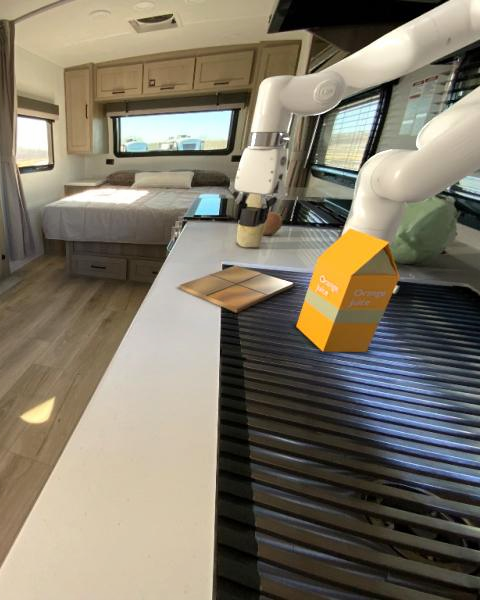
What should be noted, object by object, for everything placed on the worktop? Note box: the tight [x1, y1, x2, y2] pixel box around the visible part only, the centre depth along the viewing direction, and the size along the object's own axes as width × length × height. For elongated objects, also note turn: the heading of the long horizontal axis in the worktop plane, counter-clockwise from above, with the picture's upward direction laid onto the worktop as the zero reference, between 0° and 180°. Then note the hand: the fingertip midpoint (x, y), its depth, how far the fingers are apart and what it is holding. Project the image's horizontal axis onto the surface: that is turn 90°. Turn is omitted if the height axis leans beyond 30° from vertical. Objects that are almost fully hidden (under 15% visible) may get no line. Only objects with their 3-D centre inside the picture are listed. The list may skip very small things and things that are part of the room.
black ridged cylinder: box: [238, 207, 259, 227], centre depth 82 cm, size 5×5×4 cm
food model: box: [236, 193, 266, 249], centre depth 111 cm, size 10×7×20 cm
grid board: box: [178, 265, 294, 314], centre depth 84 cm, size 16×24×1 cm, turn 124°
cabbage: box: [390, 193, 461, 265], centre depth 94 cm, size 16×19×20 cm
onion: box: [263, 211, 283, 237], centre depth 126 cm, size 10×9×10 cm
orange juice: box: [295, 229, 401, 353], centre depth 58 cm, size 8×9×20 cm
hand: (249, 221), depth 83 cm, fingers closed on black ridged cylinder, 4 cm apart
